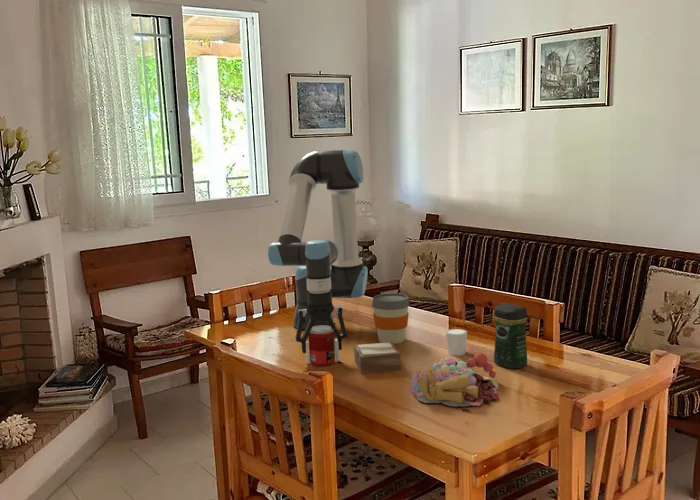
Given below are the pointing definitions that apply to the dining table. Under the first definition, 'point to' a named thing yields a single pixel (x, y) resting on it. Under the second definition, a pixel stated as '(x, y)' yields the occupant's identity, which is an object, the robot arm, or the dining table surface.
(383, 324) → the reusable coffee cup
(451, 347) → the shot glass
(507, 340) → the coffee jar
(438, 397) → the candy landscape model
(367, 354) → the base
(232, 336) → the dining table surface
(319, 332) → the canned food
